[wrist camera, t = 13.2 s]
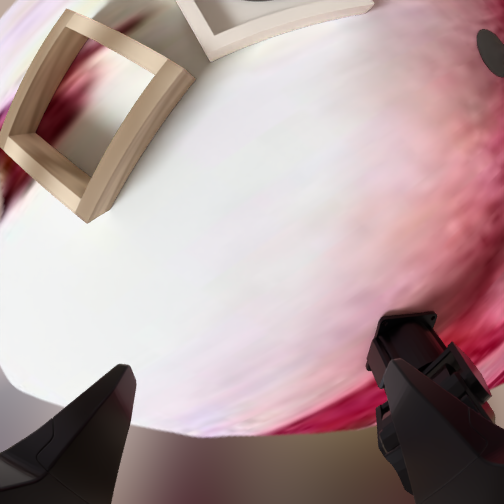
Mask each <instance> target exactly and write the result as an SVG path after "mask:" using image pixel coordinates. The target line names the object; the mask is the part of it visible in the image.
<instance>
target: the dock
mask: <svg viewBox="0 0 504 504" xmlns="http://www.w3.org/2000/svg"><path fill="white" fill-rule="evenodd" d="M176 2H177V4H178V6H179V7H180V9H181V11H182V12H183V14H184V16H185V18H186V19H187V21H188V23H189V25H190V27H191V28H192V30H193V32H194V34H195V35H196V37H197V39H198V41H199V43H200V45H201V46H202V48H203V50H204V52H205V54H206V55H207V57H208V59H209V60H210V62H212V61H215V60H217V59H219V58H221V57H223V56H226V55H228V54H230V53H233V52H235V51H237V50H240V49H242V48H245V47H247V46H250V45H252V44H255V43H258V42H260V41H263V40H266V39H269V38H272V37H274V36H277V35H280V34H284V33H287V32H290V31H293V30H296V29H300V28H303V27H307V26H310V25H314V24H318V23H322V22H326V21H330V20H335V19H339V18H344V17H349V16H354V15H360V14H365V13H366V12H367V11H368V10H369V9H370V8H371V7H372V6H373V5H374V2H373V1H372V0H272V1H263V2H253V1H244V0H176Z"/></svg>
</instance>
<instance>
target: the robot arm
mask: <svg viewBox="0 0 504 504" xmlns="http://www.w3.org/2000/svg"><path fill="white" fill-rule="evenodd" d="M432 316H433V317H432ZM431 317H432V318H431ZM436 318H437V314H436V313H435V312H433V311H432V312H424V313H416V314H407V315H397V316H386V317H382V318H381V319H380V320H379V322H378V326H377V330H376V333H375V337H374V339H373V340H372V343H371V346H370V350H369V353H368V356H367V363H366V369H367V370H368V371H372V373H373V375H374V377H375V380H376V382H377V385H378V387H379V388H380V389H383V388H384V390H385V393H386V395H387V398H388V401H386V402H385V403H384V404H382V405H380V406H378V407H377V408H376V419H377V434H378V446H379V449H380V451H381V452H382V454H383V455H384V457H385V458H386V459H387V460H388V461H389V462H390V463H391V464H392V466H393V467H394V468H395V470H396V472H397V473H398V475H399V477H400V479H401V482H402V484H403V486H404V488H405V490H406V491H407V492H409V493H410V494H412V495H414V499H415V504H504V429H503V428H501V427H499V426H497V425H496V424H495V414H494V412H493V410H492V408H491V407H490V405H489V404H488V403H487V400H488V399H489V398H490V397H491V396H492V395H491V393H490V390H489V388H488V386H487V384H486V382H485V380H484V378H483V376H482V374H481V373H480V371H479V370H478V369H477V367H476V366H475V365H474V364H473V362H472V361H471V360H470V358H469V357H468V356H467V355H466V354H465V353H464V352H463V351H462V350H461V349H460V348H459V347H458V346H457V345H456V344H454V343H453V342H451V343H450V344H449V345H448V347H446V346H445V345H444V343H443V342H442V340H441V339H440V338H439V336H438V335H437V334H436V332H435V331H434V330H433V327H434V324H435V321H436ZM385 321H386V322H385ZM384 322H385V323H384ZM135 391H136V379H135V377H134V374H133V372H132V369H131V367H130V366H129V365H126V364H118V365H116V366H115V367H114V368H113V369H111V370H110V371H109V372H108V373H106V374H105V375H104V376H103V377H102V378H100V379H99V380H98V381H97V382H95V383H94V384H93V385H92V386H91V387H89V388H88V389H87V390H86V391H84V392H83V393H82V394H81V395H80V396H78V397H77V398H76V399H75V400H73V401H72V402H71V403H70V404H69V405H67V406H66V407H65V408H64V409H63V410H61V411H60V412H59V413H58V414H56V415H55V416H54V417H53V419H52V418H51V419H50V420H49V421H48V422H46V423H45V424H44V425H43V426H41V427H40V428H39V429H37V430H36V431H35V432H33V433H32V434H30V435H29V436H28V437H26V438H24V439H23V440H21V441H20V442H18V443H16V444H15V445H13V446H12V447H10V448H8V449H7V450H5V451H3V452H1V453H0V504H111V501H112V497H113V491H114V487H115V483H116V479H117V473H118V470H119V466H120V462H121V457H122V453H123V449H124V445H125V441H126V438H127V434H128V430H129V426H130V422H131V417H132V410H133V404H134V397H135Z"/></svg>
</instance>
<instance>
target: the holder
mask: <svg viewBox="0 0 504 504" xmlns="http://www.w3.org/2000/svg"><path fill="white" fill-rule="evenodd" d="M88 38H90V39H92V40H94V41H96V42H98V43H100V44H102V45H104V46H106V47H107V48H109V49H111V50H113V51H115V52H117V53H118V54H120V55H122V56H124V57H126V58H127V59H129V60H131V61H133V62H134V63H136V64H138V65H139V66H141V67H143V68H144V69H146V70H148V71H149V72H151V73H153V74H154V75H155V76H154V78H153V79H152V80H151V82H150V83H149V84H148V86H147V87H146V88H145V90H144V91H143V93H142V94H141V96H140V97H139V98H138V100H137V101H136V103H135V104H134V106H133V107H132V109H131V110H130V112H129V113H128V115H127V116H126V118H125V120H124V121H123V123H122V124H121V126H120V128H119V129H118V131H117V132H116V134H115V136H114V137H113V139H112V141H111V143H110V144H109V146H108V148H107V150H106V151H105V153H104V155H103V157H102V159H101V160H100V162H99V164H98V166H97V168H96V170H95V172H94V174H93V176H92V178H91V177H90V176H88V175H87V174H86V173H85V172H83V171H82V170H81V169H80V168H78V167H77V166H76V165H74V164H73V163H72V162H71V161H69V160H68V159H67V158H66V157H64V156H63V155H62V154H61V153H59V152H58V151H57V150H56V149H54V148H53V147H52V146H51V145H50V144H48V143H47V142H46V141H45V140H43V139H42V138H41V137H40V136H39V135H37V134H36V133H35V132H36V130H37V128H38V125H39V123H40V121H41V119H42V117H43V115H44V113H45V110H46V108H47V106H48V104H49V102H50V101H51V99H52V97H53V95H54V93H55V91H56V89H57V87H58V86H59V84H60V82H61V80H62V79H63V77H64V75H65V73H66V72H67V70H68V68H69V67H70V65H71V64H72V62H73V60H74V59H75V57H76V56H77V54H78V53H79V51H80V50H81V48H82V47H83V45H84V44H85V42H86V41H87V40H88ZM195 80H196V79H195V78H194V77H193V76H192V75H191V74H190V73H189V72H188V71H186V70H185V69H184V68H183V67H181V66H180V65H178V64H176V63H175V62H173V61H171V60H170V59H168V58H166V57H164V56H163V55H161V54H159V53H158V52H156V51H154V50H152V49H150V48H149V47H147V46H145V45H143V44H141V43H139V42H138V41H136V40H134V39H132V38H130V37H128V36H126V35H124V34H122V33H120V32H118V31H116V30H114V29H112V28H110V27H108V26H106V25H104V24H101V23H99V22H97V21H95V20H93V19H90V18H88V17H86V16H83V15H81V14H79V13H76V12H74V11H71V10H69V9H66V10H65V11H64V13H63V14H62V16H61V17H60V18H59V20H58V21H57V23H56V24H55V25H54V27H53V28H52V30H51V31H50V33H49V35H48V36H47V38H46V39H45V41H44V42H43V44H42V46H41V47H40V49H39V51H38V52H37V54H36V56H35V58H34V59H33V61H32V63H31V65H30V67H29V68H28V70H27V72H26V74H25V76H24V78H23V80H22V82H21V84H20V86H19V88H18V90H17V93H16V95H15V97H14V99H13V101H12V104H11V106H10V109H9V111H8V113H7V116H6V118H5V121H4V124H3V126H2V129H1V132H0V147H1V148H2V149H3V150H4V151H5V152H6V153H7V154H8V155H9V156H10V157H11V158H12V159H13V160H14V161H15V162H16V163H17V164H18V165H20V166H21V167H22V168H23V169H24V170H25V171H26V172H27V173H28V174H29V175H30V176H31V177H33V178H34V179H35V180H36V181H37V182H38V183H39V184H40V185H42V186H43V187H44V188H45V189H46V190H47V191H48V192H50V193H51V194H52V195H53V196H54V197H55V198H57V199H58V200H59V201H60V202H61V203H62V204H64V205H65V206H66V207H67V208H68V209H70V210H71V211H72V212H73V213H74V214H76V215H77V216H78V217H79V218H81V219H82V220H83V221H84V222H86V223H87V224H88V223H89V222H91V221H92V220H94V219H96V218H97V217H99V216H100V215H102V214H104V213H105V212H107V211H109V210H110V209H111V207H112V205H113V203H114V201H115V199H116V197H117V196H118V194H119V192H120V190H121V189H122V187H123V185H124V183H125V182H126V180H127V178H128V177H129V175H130V173H131V171H132V170H133V168H134V167H135V165H136V163H137V162H138V160H139V158H140V157H141V155H142V154H143V152H144V151H145V149H146V148H147V146H148V144H149V143H150V141H151V140H152V138H153V137H154V135H155V134H156V133H157V131H158V130H159V128H160V127H161V125H162V124H163V122H164V121H165V120H166V118H167V117H168V115H169V114H170V113H171V111H172V110H173V109H174V107H175V106H176V105H177V103H178V102H179V101H180V99H181V98H182V97H183V95H184V94H185V93H186V91H187V90H188V89H189V88H190V86H191V85H192V84H193V83H194V81H195Z"/></svg>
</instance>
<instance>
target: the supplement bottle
mask: <svg viewBox="0 0 504 504" xmlns="http://www.w3.org/2000/svg"><path fill="white" fill-rule="evenodd" d="M244 1H253V2H263V1H272V0H244Z"/></svg>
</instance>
